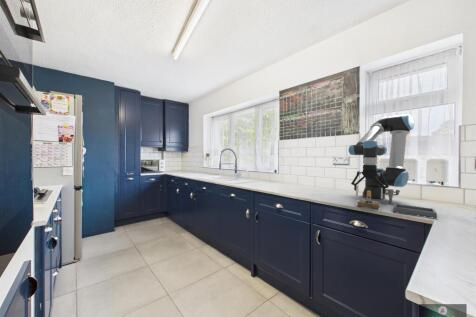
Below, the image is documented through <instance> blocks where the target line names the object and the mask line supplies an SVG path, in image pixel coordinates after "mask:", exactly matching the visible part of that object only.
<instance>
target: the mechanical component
mask: <svg viewBox="0 0 476 317" xmlns="http://www.w3.org/2000/svg"><path fill="white" fill-rule="evenodd" d="M400 192H401V190H399V189H396V190H395V191H394V189H390V188H385V196H388V204H390V205H392V204H393V198H394V196H400V195H399V194H400Z"/></svg>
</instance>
